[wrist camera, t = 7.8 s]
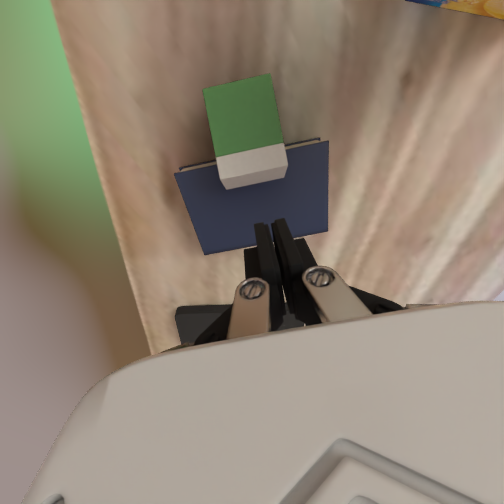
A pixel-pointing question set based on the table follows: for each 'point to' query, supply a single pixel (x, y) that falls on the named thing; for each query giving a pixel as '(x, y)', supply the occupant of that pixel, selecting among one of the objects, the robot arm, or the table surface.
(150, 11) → the table surface
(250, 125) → the green and white eraser
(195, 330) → the smart home device
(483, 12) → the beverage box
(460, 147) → the table surface
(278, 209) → the book
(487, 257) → the table surface
